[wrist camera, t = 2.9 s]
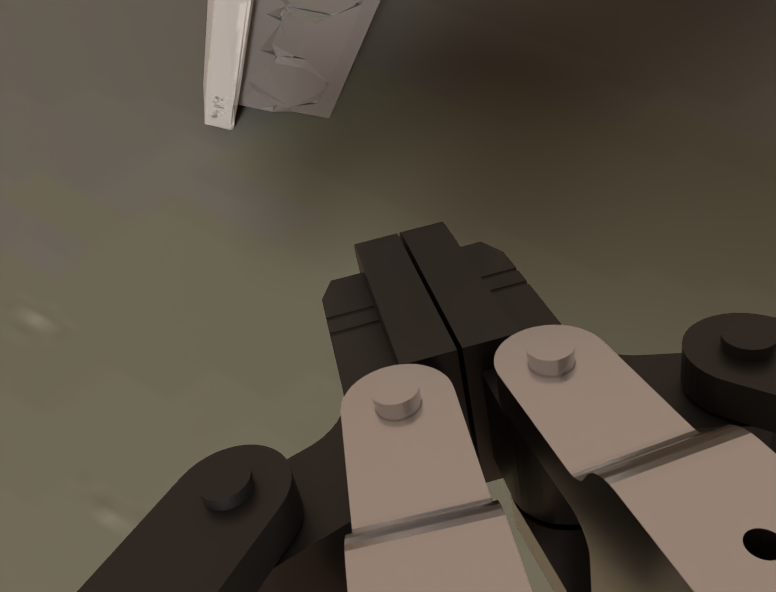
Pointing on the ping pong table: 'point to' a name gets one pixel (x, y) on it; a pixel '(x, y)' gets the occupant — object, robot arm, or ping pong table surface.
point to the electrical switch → (280, 54)
